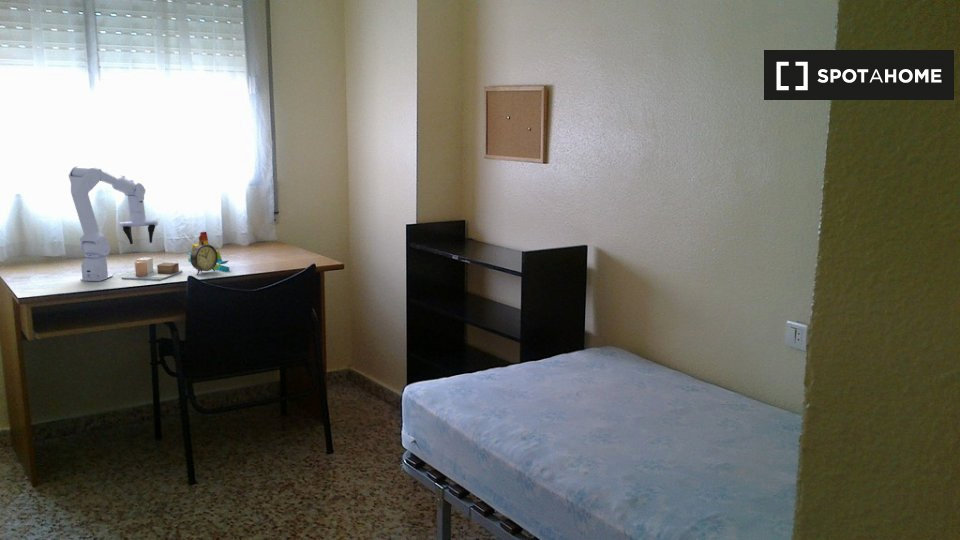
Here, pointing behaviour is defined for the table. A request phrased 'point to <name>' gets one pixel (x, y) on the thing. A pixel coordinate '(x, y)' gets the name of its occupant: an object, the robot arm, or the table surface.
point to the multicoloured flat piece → (219, 261)
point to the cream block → (149, 263)
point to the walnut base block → (168, 268)
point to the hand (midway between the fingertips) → (141, 243)
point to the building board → (151, 276)
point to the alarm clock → (203, 257)
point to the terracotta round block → (141, 268)
